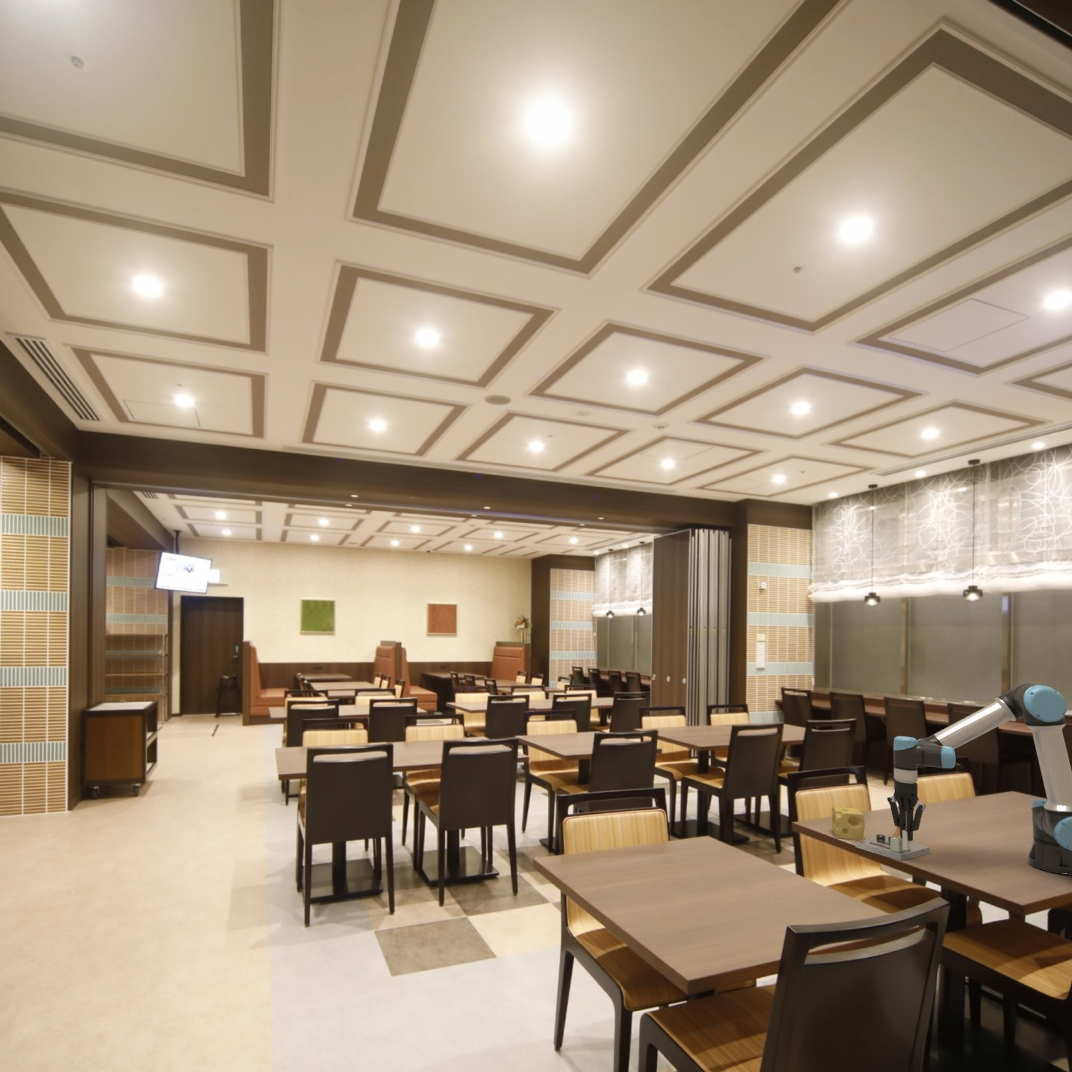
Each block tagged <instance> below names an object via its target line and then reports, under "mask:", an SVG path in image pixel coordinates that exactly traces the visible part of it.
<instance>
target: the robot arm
mask: <svg viewBox="0 0 1072 1072" xmlns="http://www.w3.org/2000/svg"><path fill="white" fill-rule="evenodd" d="M1067 711H1068V704H1067V701H1066V699H1065V697H1064V695H1062V694H1061V693H1060V692H1059V691H1058V690H1056V689H1054V688H1053V687H1050V686H1048V685H1044V684H1043V685H1042V684H1035V683H1023V684H1019V685H1017V686H1014V687H1013V688H1011V689H1009V690H1007V691H1006V692H1004V693H1002V694H1001V695H999V696H997V697H995V700H994V702H992V703H990V704H988V705H986V706H985V707H983V708H981V709H979V710H978V711H975V712H973V713H971V714H970V715H968V716H965V717H964V718H962V719H960V720H958V721H957V722H955V723H953V724H951V725H949V726H947V727H945V728H944V729H941V730H940V731H937V732H936V733H934V734H932V735H930V736H928V737H926V738H919V739H917V738H914V737H911V736H903V735H898V736H895V737H894V739H893V748H892V749H893V779H894V780H893V788H894V789H893V791H894V792H893V795H892V796H889V797H887V798H886V799H887V802H888V804H889V806H890V811H891V815H892V821H893V823H894V826H895V827H896V828H897V827H899V828H900V838H901V839H903V850H911V842H912V841H913V840H914V832H916V831H919V829H920V824H921V821H922V816H923V814H924V813H923V812H924V810H925V809H926V808H927V807H926V804H922V803H921V802H920V801H919V800H920V799H919V797H918V790H919V788H918V785H919V784H918V783H917V782H918V766H921V767H922V766H924V767H932V768H933V767H934V768H942V769H953V768H955V766H956V760H957V759H956V751H955V749H957V748H959V747H962V746H963V745H965V744H967V743H969V742H971V741H973V740H975V739H977V738H978V737H981V736H983V735H984V734H986V733H988V732H990V731H992V730H994V729H995V728H998V727H1000V726H1002V725H1003V724H1005V723H1008V722H1011V721H1012V722H1017V721H1018V720H1020V719H1023V721H1024V725H1025V727H1027V728H1028V729H1029V730H1031V733H1032V737H1033V741H1034V746H1035V751H1036V755H1037V759H1038V764H1039V769H1040V773H1041V777H1042V781H1043V786H1044V790H1045V795H1046V798H1047V799H1038V798H1037V799H1033V800H1032V803H1031V814H1032V818H1031V819H1032V838H1033V841H1032V845H1031V847H1030V849H1029V853H1028V857H1027V859H1028V860H1027V862H1028V864H1029V865H1030V866H1031V867H1033V868H1036V869H1038V870H1040V869H1042V870H1041V871H1044V870H1045V871H1044V872H1047V871H1050V872H1049V873H1051V872H1056V873H1067V874H1072V767H1071V764H1070V759H1069V753H1068V750H1067V747H1066V746H1067V745H1066V742H1065V737H1064V734H1063V728H1064V727H1065V726H1067V722H1066V718H1065V715H1066V713H1067ZM915 806H916V810H915ZM914 811H915V814H914ZM1056 873H1055V874H1056Z"/></svg>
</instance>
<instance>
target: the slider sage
mask: <svg viewBox="0 0 1072 1072" xmlns="http://www.w3.org/2000/svg"><path fill="white" fill-rule="evenodd" d="M892 837H893V836H892ZM890 845H891V850H893V851H897V852H901V851H903V839H900V838H899V837H893V838H890Z"/></svg>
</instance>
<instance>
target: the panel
mask: <svg viewBox="0 0 1072 1072" xmlns="http://www.w3.org/2000/svg"><path fill="white" fill-rule="evenodd" d="M890 838H893V836H891V835H887V834H879V833H878V834H876V836H874V837H869V838H865V839H864V838H863V840H860V841H858V840H855V843H854V844H855V847H854V848H857V849H860V850H864V851H867V852H870V853H873V854H875V855H879V856H882V857H887V858H889V859H893V860H895V861H900V862H903V861H907V860H910V859H914V858H916V857H921V856H925V855H929V854H930V853H931V852H930V850H931V848H930V846H926V845H922V844H919V843H915V842H912V841H911V850H903V851H901V852H897V851H893V850H891V845H890Z"/></svg>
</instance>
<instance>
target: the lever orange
mask: <svg viewBox="0 0 1072 1072" xmlns="http://www.w3.org/2000/svg"><path fill="white" fill-rule="evenodd" d="M898 836H900V828H899V827H897V826H896V828H895V830H894V832H893V834H892V837H898Z"/></svg>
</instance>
